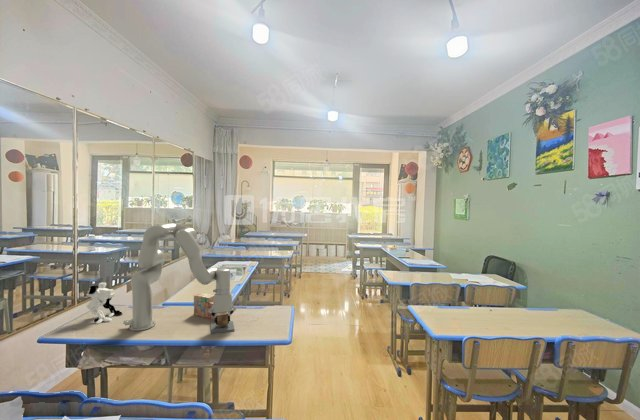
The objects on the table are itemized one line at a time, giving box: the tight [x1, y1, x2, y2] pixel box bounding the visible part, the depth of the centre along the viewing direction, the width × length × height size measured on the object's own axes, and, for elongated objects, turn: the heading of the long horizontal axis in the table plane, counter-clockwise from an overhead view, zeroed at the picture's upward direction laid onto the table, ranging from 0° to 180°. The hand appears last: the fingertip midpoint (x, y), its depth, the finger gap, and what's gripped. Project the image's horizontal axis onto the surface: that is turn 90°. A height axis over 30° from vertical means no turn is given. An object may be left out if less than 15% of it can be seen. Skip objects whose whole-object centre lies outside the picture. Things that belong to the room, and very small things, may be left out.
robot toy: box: [86, 282, 123, 325], centre depth 179 cm, size 19×14×20 cm
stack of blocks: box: [193, 292, 228, 320], centre depth 186 cm, size 21×6×12 cm, turn 65°
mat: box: [210, 320, 235, 335], centre depth 168 cm, size 12×12×1 cm
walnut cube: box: [217, 312, 228, 327], centre depth 168 cm, size 6×6×6 cm
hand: (222, 322), depth 168 cm, fingers closed on walnut cube, 5 cm apart
